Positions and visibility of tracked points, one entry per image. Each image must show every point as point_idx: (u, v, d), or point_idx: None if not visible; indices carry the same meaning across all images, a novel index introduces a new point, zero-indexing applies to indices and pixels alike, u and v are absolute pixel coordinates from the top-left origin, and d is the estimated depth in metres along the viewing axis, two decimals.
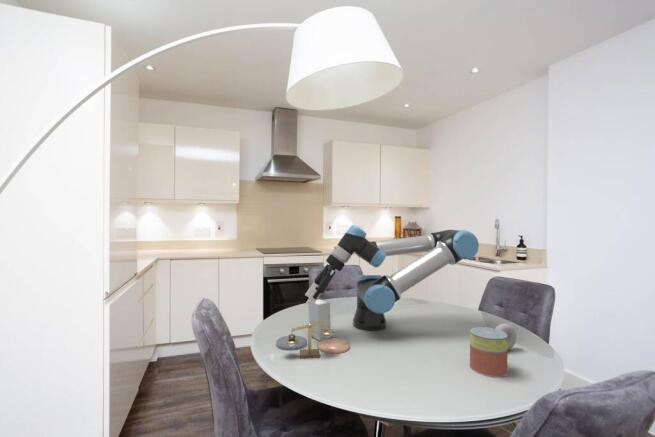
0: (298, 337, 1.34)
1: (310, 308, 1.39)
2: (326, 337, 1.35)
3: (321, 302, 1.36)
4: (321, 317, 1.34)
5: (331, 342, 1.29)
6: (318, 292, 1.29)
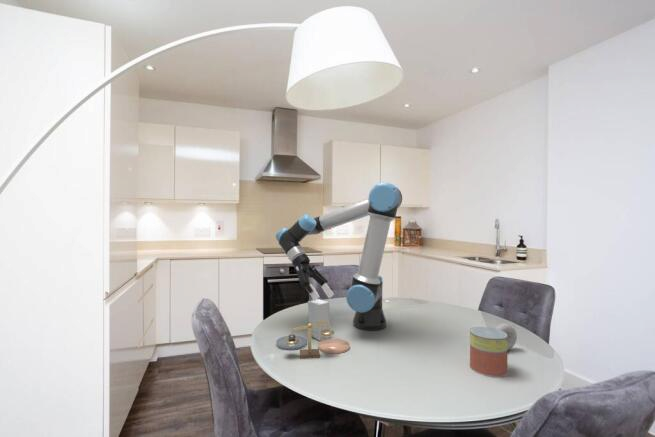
0: (298, 337, 1.34)
1: (309, 308, 1.38)
2: (326, 337, 1.35)
3: (320, 302, 1.36)
4: (321, 317, 1.34)
5: (331, 342, 1.29)
6: (306, 286, 1.35)
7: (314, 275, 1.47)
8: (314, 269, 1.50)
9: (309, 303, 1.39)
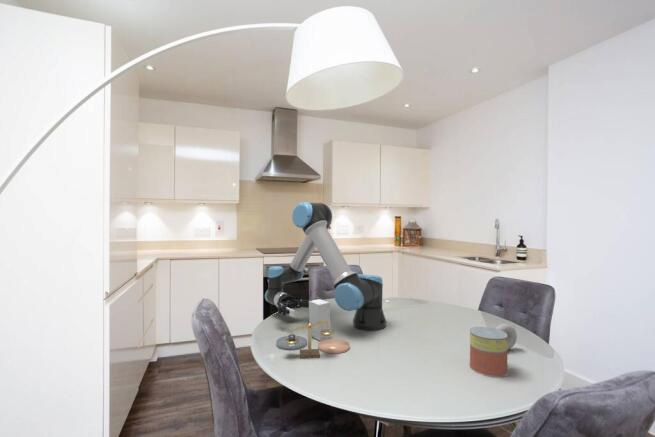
0: (298, 337, 1.34)
1: (310, 308, 1.39)
2: (326, 337, 1.35)
3: (321, 302, 1.36)
4: (321, 317, 1.34)
5: (331, 342, 1.29)
6: (283, 311, 1.46)
7: (300, 303, 1.57)
8: (301, 300, 1.61)
9: (310, 303, 1.39)
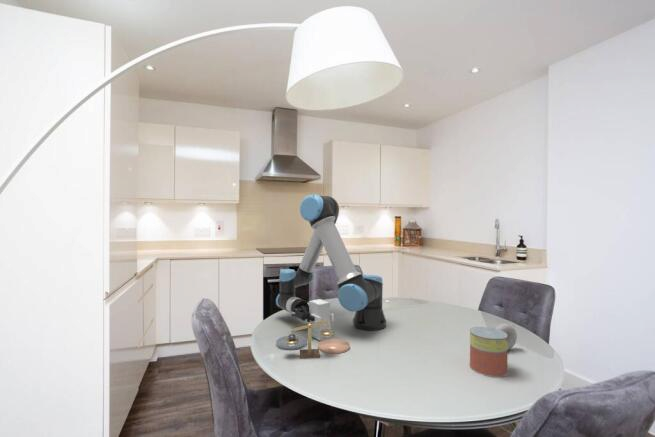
0: (298, 337, 1.34)
1: (310, 308, 1.39)
2: (326, 337, 1.35)
3: (321, 302, 1.36)
4: (321, 317, 1.34)
5: (331, 342, 1.29)
6: (308, 317, 1.36)
7: None
8: None
9: (310, 303, 1.39)
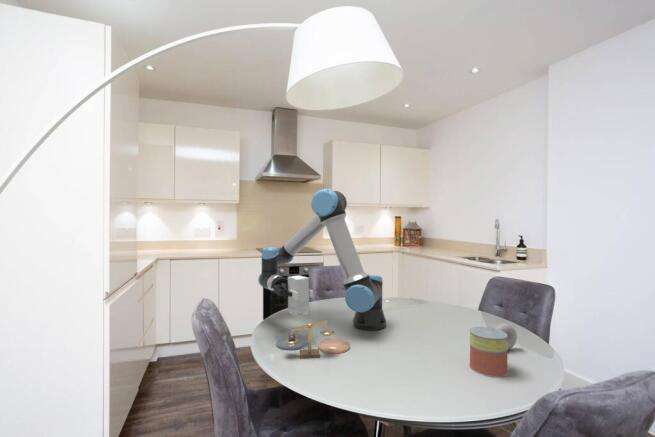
0: (298, 337, 1.34)
1: (289, 284, 1.34)
2: (304, 313, 1.30)
3: (300, 277, 1.32)
4: (299, 292, 1.29)
5: (331, 342, 1.29)
6: (286, 293, 1.32)
7: None
8: None
9: (289, 278, 1.34)
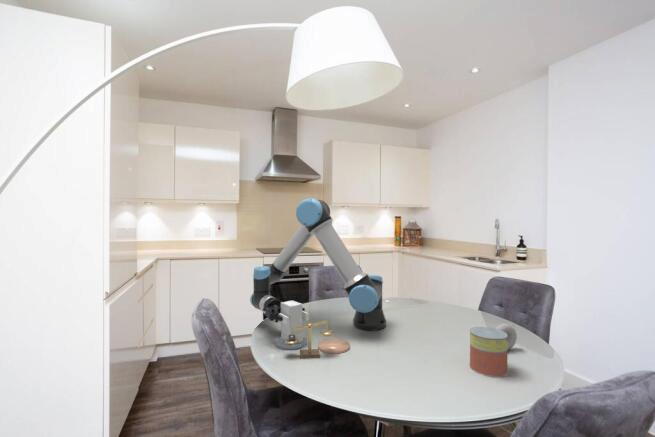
0: None
1: (282, 310, 1.31)
2: None
3: (293, 304, 1.29)
4: (293, 319, 1.26)
5: (331, 342, 1.29)
6: (276, 317, 1.28)
7: None
8: None
9: (282, 304, 1.31)
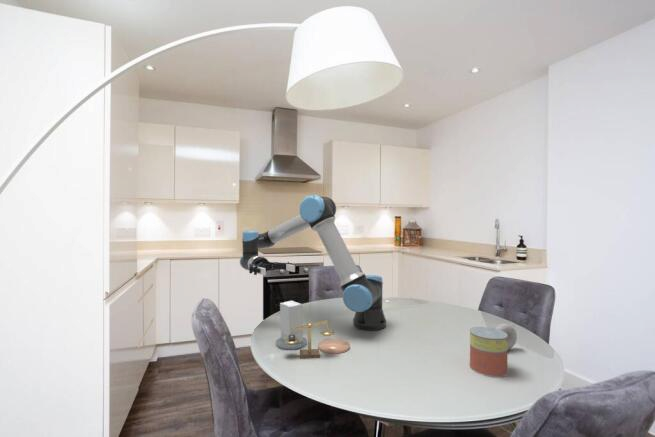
0: None
1: (281, 310, 1.31)
2: None
3: (292, 304, 1.29)
4: (292, 320, 1.26)
5: (331, 342, 1.29)
6: (254, 270, 1.38)
7: (274, 265, 1.49)
8: (276, 263, 1.53)
9: (281, 305, 1.31)
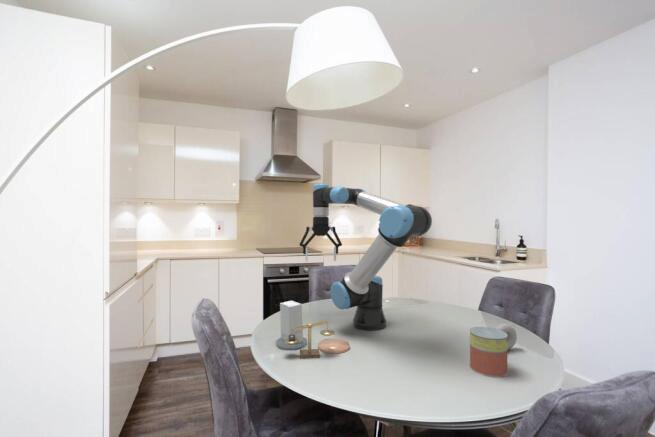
0: None
1: (281, 310, 1.31)
2: None
3: (292, 304, 1.29)
4: (292, 320, 1.26)
5: (331, 342, 1.29)
6: (303, 247, 1.58)
7: None
8: (333, 230, 1.59)
9: (281, 305, 1.31)
